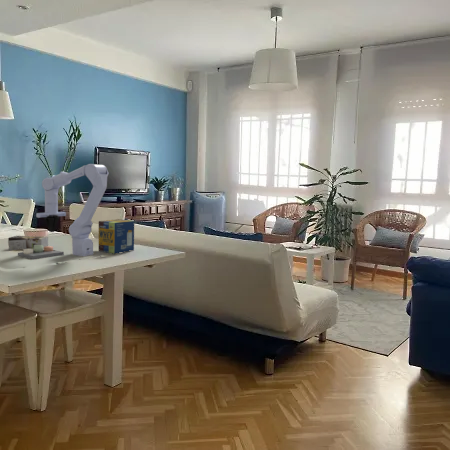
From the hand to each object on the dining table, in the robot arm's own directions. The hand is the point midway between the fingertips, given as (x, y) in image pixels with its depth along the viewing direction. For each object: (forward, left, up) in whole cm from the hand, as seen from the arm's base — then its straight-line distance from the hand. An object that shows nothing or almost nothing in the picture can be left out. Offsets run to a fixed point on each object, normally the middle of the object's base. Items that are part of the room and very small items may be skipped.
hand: (51, 231), depth 216 cm
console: (-6, +10, -10) cm, 15 cm away
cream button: (-4, +14, -9) cm, 18 cm away
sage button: (-4, +10, -8) cm, 13 cm away
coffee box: (+10, -3, -7) cm, 13 cm away
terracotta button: (-4, +5, -9) cm, 11 cm away
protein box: (-16, -26, -11) cm, 32 cm away
